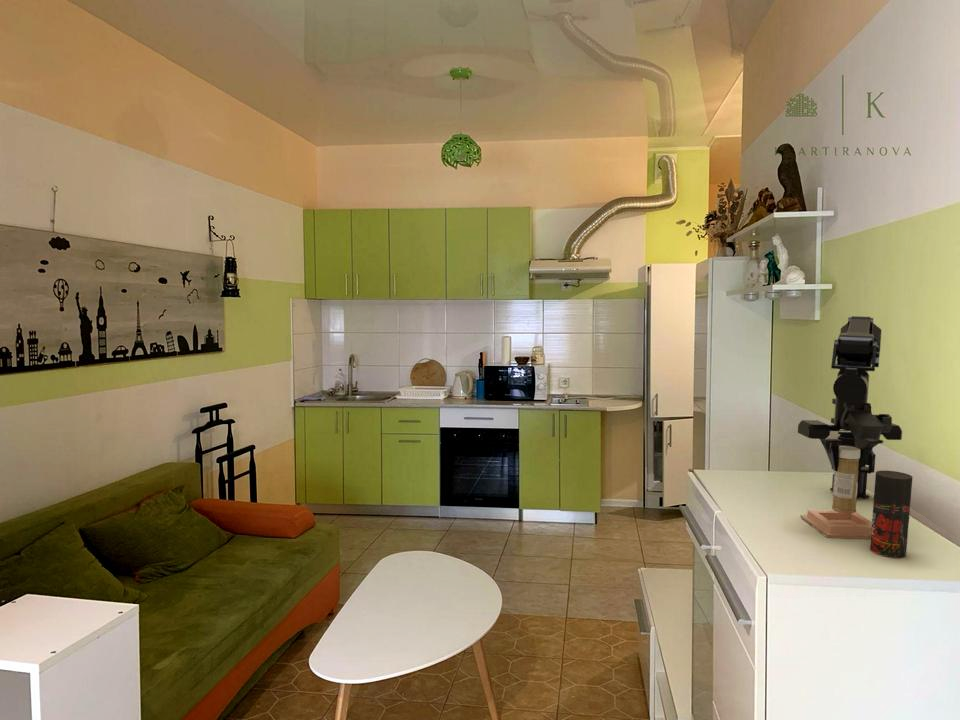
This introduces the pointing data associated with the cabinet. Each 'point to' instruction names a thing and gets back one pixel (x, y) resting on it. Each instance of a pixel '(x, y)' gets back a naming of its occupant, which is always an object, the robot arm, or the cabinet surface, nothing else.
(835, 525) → the tray
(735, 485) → the cabinet surface
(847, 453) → the sprinkles bottle
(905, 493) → the deodorant
